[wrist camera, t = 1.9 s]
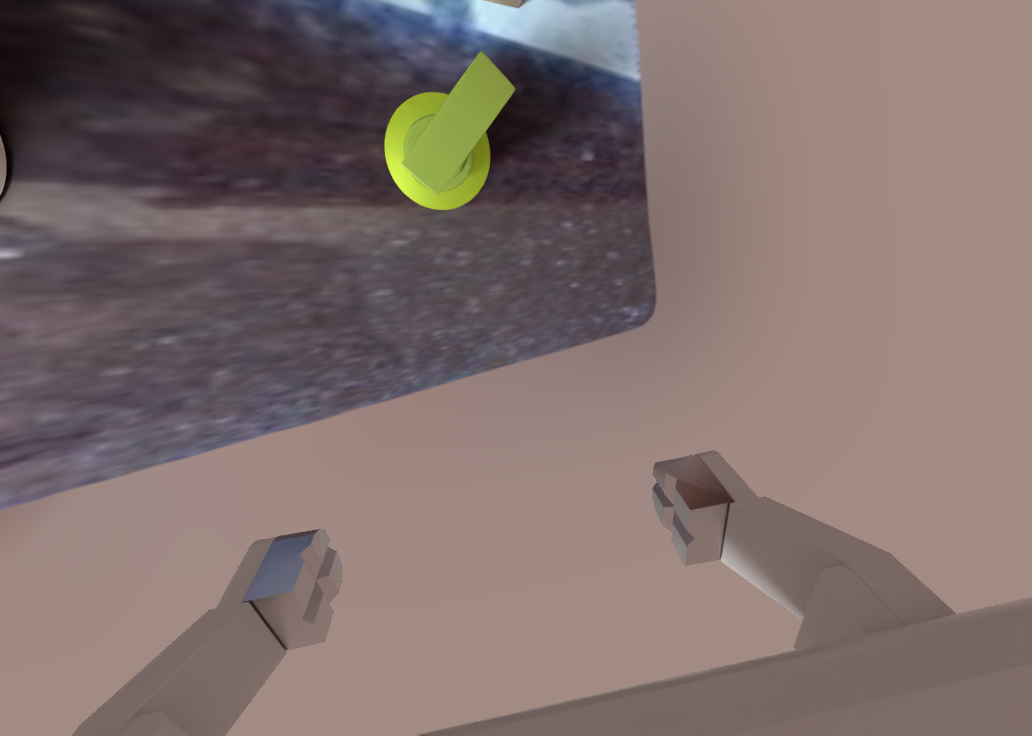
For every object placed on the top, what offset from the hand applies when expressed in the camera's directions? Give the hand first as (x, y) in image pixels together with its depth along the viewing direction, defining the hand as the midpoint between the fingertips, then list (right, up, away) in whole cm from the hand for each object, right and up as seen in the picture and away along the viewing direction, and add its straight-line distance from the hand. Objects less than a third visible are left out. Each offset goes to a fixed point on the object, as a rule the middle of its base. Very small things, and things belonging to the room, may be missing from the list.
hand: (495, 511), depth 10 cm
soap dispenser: (-6, +22, +24) cm, 33 cm away
